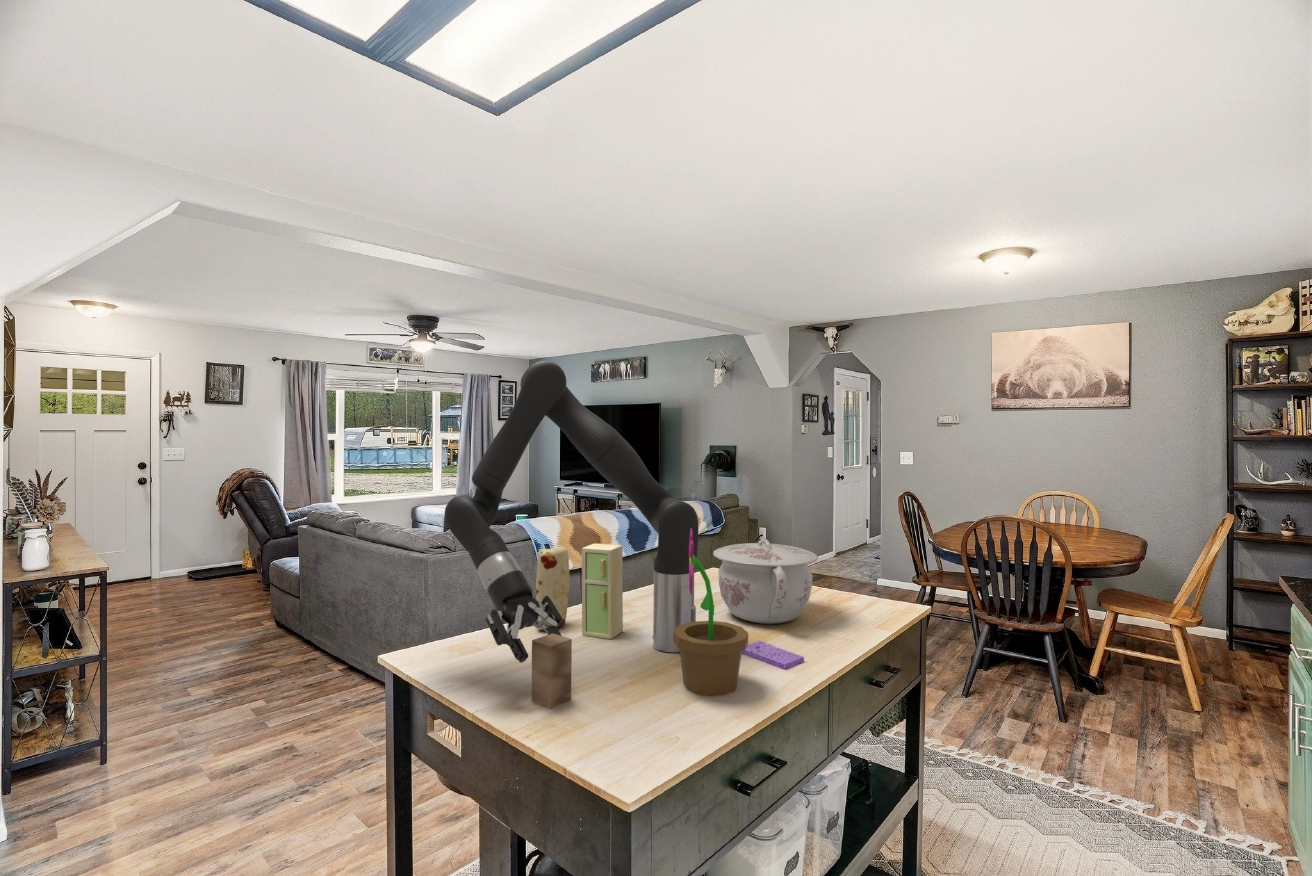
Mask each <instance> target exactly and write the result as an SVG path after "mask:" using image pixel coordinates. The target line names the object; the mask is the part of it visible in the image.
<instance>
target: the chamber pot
mask: <svg viewBox="0 0 1312 876" xmlns="http://www.w3.org/2000/svg"><path fill="white" fill-rule="evenodd" d="M712 555H713V557H715V558H716V559H718V560H720V561H721V562H722V563H721V564H720V567H719V568H718V586H719V591H720V596H721V598H722V600H723V603H725V605H726V607H727V608H728V610H729V612H730V613H732V614H733V615H734V616H735V617H737V618H739V619H741V620H743V621H745V622H750V623H752V624H753V623H754V624H759V625H760V624H761V625H779V624H783V623H787V622H790V621H793V620H795V619H796V618H797V617H799V615H800V614H801V613H802V611H803V610H804V608H805V606H806V604H808V602H809V600H810V598H811V592H812V589H813V573H812V572H811V570H810V569H809V565H811V564H814V563H816V562H817V560H819V557H818V555H817V554H816V553H815V552H812V551H810V550H808V549H804V548H801V547H797V546H793V545H785V544H780V543H771V542H770V541H769V540H768V539H767V538H762V539H760V540H759V541H758V542H753V543H752V542H751V543H749V542H747V543H735V544H730V545H725V546H723V547H719V548H717V549H715V550H713V552H712Z"/></svg>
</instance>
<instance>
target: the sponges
mask: <svg viewBox="0 0 1312 876" xmlns="http://www.w3.org/2000/svg"><path fill="white" fill-rule="evenodd" d="M741 655H744V656H746V657H749V658H752V659H754V660H757V661H761V662H762V663H765V664H767V665H771V666H773V667H775V668H778V669H782V670H788V669H789V668H790V669H791V668H793V667H795V666H797V665H800V664H803V663H804V662H805V656H804V655H800V654H798V653H797V654H796V653H795V652H792V651H789V650H786V649H783V648H781V647H777V646H776V645H773V644H770V643H766V641H765V642H764V641H763V640H756V641H754V642H752V643H748V645H747V647H746V649H745V650H743V651H742V652H741Z"/></svg>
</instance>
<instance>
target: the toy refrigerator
mask: <svg viewBox="0 0 1312 876" xmlns="http://www.w3.org/2000/svg"><path fill="white" fill-rule="evenodd" d="M623 563H624V562H623V545H622V544H621V545H619V544H608V543H607V544H606V543H604V544H603V543H592V544H588V545H586V546H584V547H582V548H581V634H582V636H585V637H594V638H601V639H608V640H611V639H614V638H615V637H616V636H617V635H619V634H620V633H622V632H623V631H624V622H623V621H624V620H623V619H624V613H623V612H624V611H623V607H624V606H623V604H624V603H623V599H624V598H623V597H624V596H623V592H624V590H623V588H624V587H623V586H624V585H623V577H624V576H623V571H624V570H623Z"/></svg>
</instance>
